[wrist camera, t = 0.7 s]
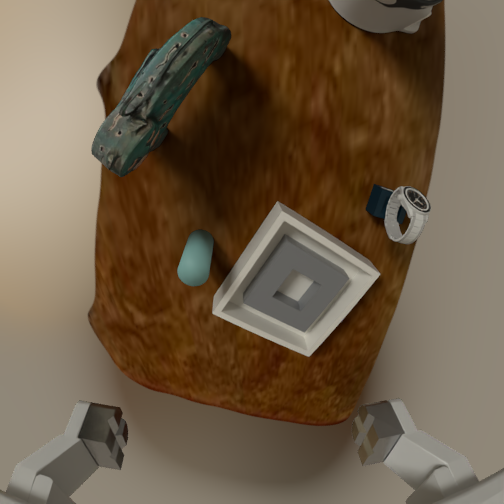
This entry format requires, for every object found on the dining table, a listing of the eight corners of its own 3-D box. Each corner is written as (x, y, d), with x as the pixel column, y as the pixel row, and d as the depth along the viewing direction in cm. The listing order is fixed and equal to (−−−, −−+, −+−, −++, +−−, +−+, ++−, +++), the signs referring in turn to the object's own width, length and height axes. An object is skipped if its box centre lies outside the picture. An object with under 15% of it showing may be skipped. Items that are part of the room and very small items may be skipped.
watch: (405, 182, 46) (443, 201, 36) (389, 227, 50) (422, 255, 39) (377, 172, 46) (412, 189, 36) (361, 219, 49) (390, 247, 39)
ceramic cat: (158, 160, 43) (107, 195, 25) (123, 138, 42) (53, 158, 23) (240, 49, 37) (243, 1, 19) (202, 26, 36) (180, -31, 17)
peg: (195, 225, 48) (186, 252, 39) (218, 237, 49) (214, 267, 40) (183, 245, 49) (172, 277, 40) (205, 258, 50) (199, 291, 41)
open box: (277, 200, 47) (282, 210, 42) (369, 260, 52) (380, 274, 47) (213, 296, 53) (212, 313, 48) (304, 339, 58) (309, 356, 53)
